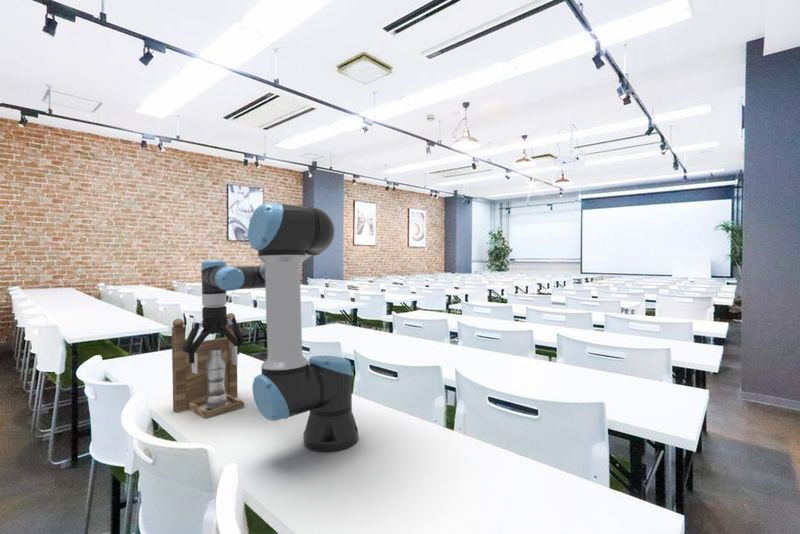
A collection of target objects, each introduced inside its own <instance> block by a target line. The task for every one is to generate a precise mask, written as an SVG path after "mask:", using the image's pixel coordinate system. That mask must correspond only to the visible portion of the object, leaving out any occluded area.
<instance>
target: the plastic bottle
mask: <svg viewBox="0 0 800 534" xmlns="http://www.w3.org/2000/svg"><path fill="white" fill-rule="evenodd" d="M221 354H222V353H221V349H220V348H214V349H210V350H209V356H210V357H209V359H208V360H207V362H206V363H205V371H206V376H207V395H206V404H205V406H206V408H207V409H209V410H212V409H216V408H219V407H223V406H226V405H227V397H226V393H225V385H224V378H225V367H226V363H225V361H224V359H223V358H222V357H221Z"/></svg>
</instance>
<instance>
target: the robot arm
mask: <svg viewBox="0 0 800 534" xmlns="http://www.w3.org/2000/svg"><path fill="white" fill-rule="evenodd" d="M334 225H335V224H334V222H333V220H332V218H331V217H330V216H329V215H328V213H326V211H324V210H322V209H320V208H318V207H314V206H304V205H293V204H287V203H286V204H285V203H279V202H278V203H277V202H276V203H275V202H274V203H270V202H269V203H268V202H266V203H261V204H260V205H259V206H257V207H256V208H255V210H254V211H253V213H252V215H251V217H250V220H249V224H248V228H247V235H248V236H247V237H248V242H249V245H250V247H251V248H252V249H253V250H255V251H257V256H258V259H259V260H260V261H261V262H262V263H261V264H259V265H247V266H246V265H243V266H242V265H241V266H238V265H237V266H233V265H231V266H227V263H226V261H225V260H222V259H220V260H219V259H218V260H217V259H215V260H203V261H202V262H201V270H200V273H201V305H202V306H203V307H202V309H201V311H202V312H201V313H202V314H201V315H202V316H201V317H202V321H201V322H197V321H193V322H192V325H191V330H190V332H189V334H188V336H187V338H186V339H185V344H184V347H183V349H182V351H183V352H186V353H188V354H189V363H192V372H193V373H195V374H196V373H198V367H197V353H195V351H196V350H197V349H198V347H199V346H200V345H201V343H202V342H203V341H205V339H207V337H208V336H209V335H215V334H221V333H222V334H223V336H224V337H225V336H226V337H227V338H228V339H229V340H230V341H231V342H232V343H233V344H234V345H232V364H233V365H237V366H238V363H239V362H238V355H240V352H241V351H240V347H241V346H242V344H245V343H246V340H245V339H244V336H243V335H242V333H241V331H240V329H239V327H238V325H236V321H237V320H236V317H235V318H229V319H226V316H227V314H228V312H227V311H228V310H227V308H228V307H227V306H226V305H227V292H230V291H231V292H232V291H238V290H249V289H252V290H253V289H265V312H266V313H265V317H266V319H265V321H266V351H267V357H266V359H265V360H264V362H263V363H262V364H261V373H260V374H258V375H256V376H255V377H254V379H253V381H252V396H253V400H254V403H255V405H256V406H255V407H257V409H258V411H259V413H260V414H261V416H262V417H263V418H265V419H266V420H267V421H271V422H274V421H279V420H283V419H284V420H285V419H288V418H290V417H293V416H297V415H300V414H303V413H306V412H309V415H308V418H307V422H306V424H305V429H304V431H303V436H302V437H303V440H302V442H303V445H304V447H306V448H307V449H309V450H312V451H315V452H322V453H323V452H324V453H326V452H337V451H338V452H339V451H342V450H345V449H349V448H350V447H352V446H354V445H355V444H356V443H357V442H358V440H359V429H358V428H359V427H358V426H357V424H356V423H357V422H356V419H355V416H354V414H353V410H352V409H353V407H352V405H353V403H352V402H353V401H352V400H353V398H352V395H353V394H352V393H353V392H352V391H353V390H352V389H353V388H352V383H353V382H352V381H353V380H352V379H353V377H352V376H353V372H352V363H351V362H350V360H349V359H347V358H344V357H341V356H335V355H314V356H311V357H310V358H309V359H307V358H306V357H304V356H303V340H302V339H303V335H302V334H303V332H302V304H301V303H302V299H301V298H302V297H301V295H302V294H301V264H302V263H303V262H305V261H306V260H307V259H309V258H310V257H315V256H319V255H320V254H322V253H323V252H325V251H326V250H327V249H328V248H329V247H330V246H331V244H332V242H333V240H334V239H335V226H334ZM227 323H228V324H229V325H230V326H231V328H232V330H233V332H234V334H235V336H236V338H237V339H236V338H235V337H234V336H233V335H232V334H231V333H230V332H229V330H228V329H227V328H226V327H225V326H226V325H227ZM201 327H202V330H201V331H200V329H201ZM199 331H200V334H199V335H198V333H199ZM197 335H198V336H197ZM196 337H197V338H196ZM193 342H194V343H193Z"/></svg>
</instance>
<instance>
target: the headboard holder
mask: <svg viewBox="0 0 800 534" xmlns="http://www.w3.org/2000/svg"><path fill="white" fill-rule="evenodd" d="M229 318H235V319H236V315H235V314H234V313H233V312H229V313H227V316H226V319H229ZM184 323H185V322H184V320H183V319H182V318H175V319H174V320H173V321H172V326H173V327H171V355H172V358H171V360H172V364H171V365H172V367H171V368H172V371H171V372H172V411H173V412H174V413H178V414H179V413H181V412H185V411H187V410H190V411H191V412H193V413H195V414H196V415H198V416H199V417H202V418H203V419H210V418H213V417H216V416H219V415H222V414H227V413H229V412H233V410H234V411H236V409H237V410H240V409H243V408H242V407H244V408H245V402H244V400H241V399H239V398H237V397H238V365H233V364H232V345H234V344H233V343H232V342H231V341H230V340H229V339H228V338H227V337H226V336H225V335H224V337H221V338H215V339H214V338H213V339H206V340H204V341H203V342H202V343H201V345H200V346H199V347H198V349H197V350H196V351H195V353H197V367H198V373H196V374H195V373H193V372H192V363H189V354H188V353H186V352H183V351H182V349H183V347H184V344H185V342H186V327H185V326H184V325H185V324H184ZM237 323H238V321H237V320H236V325H237ZM237 326H238V325H237ZM225 327H226V328H227V329H228V330H229V332H230V333H231V334H232V335H233V336H234V337H235V338H236V336H235V334H234V332H233V330H232V328H231V326H230V325H229V324H228V323H227V325H226V326H225ZM236 339H237V338H236ZM194 342H195V341H193V343H194ZM214 348H220V349H221V353H222V354H221V357H222V358H223V359H224V361H225V363H226V367H225V378H224V385H225V393H226V397H227V401H228V403H229V402H231V403H232V404H231V403H230V404H225V406H223V407H219V408H216V409H209V410H206V409H205V408H202V407H201V406H206V395H207V376H206V371H205V363H206V362H207V360H208V359H209V357H210V356H209V350H210V349H214ZM235 396H237V397H235ZM227 401H226V402H227ZM239 408H240V409H239Z"/></svg>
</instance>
